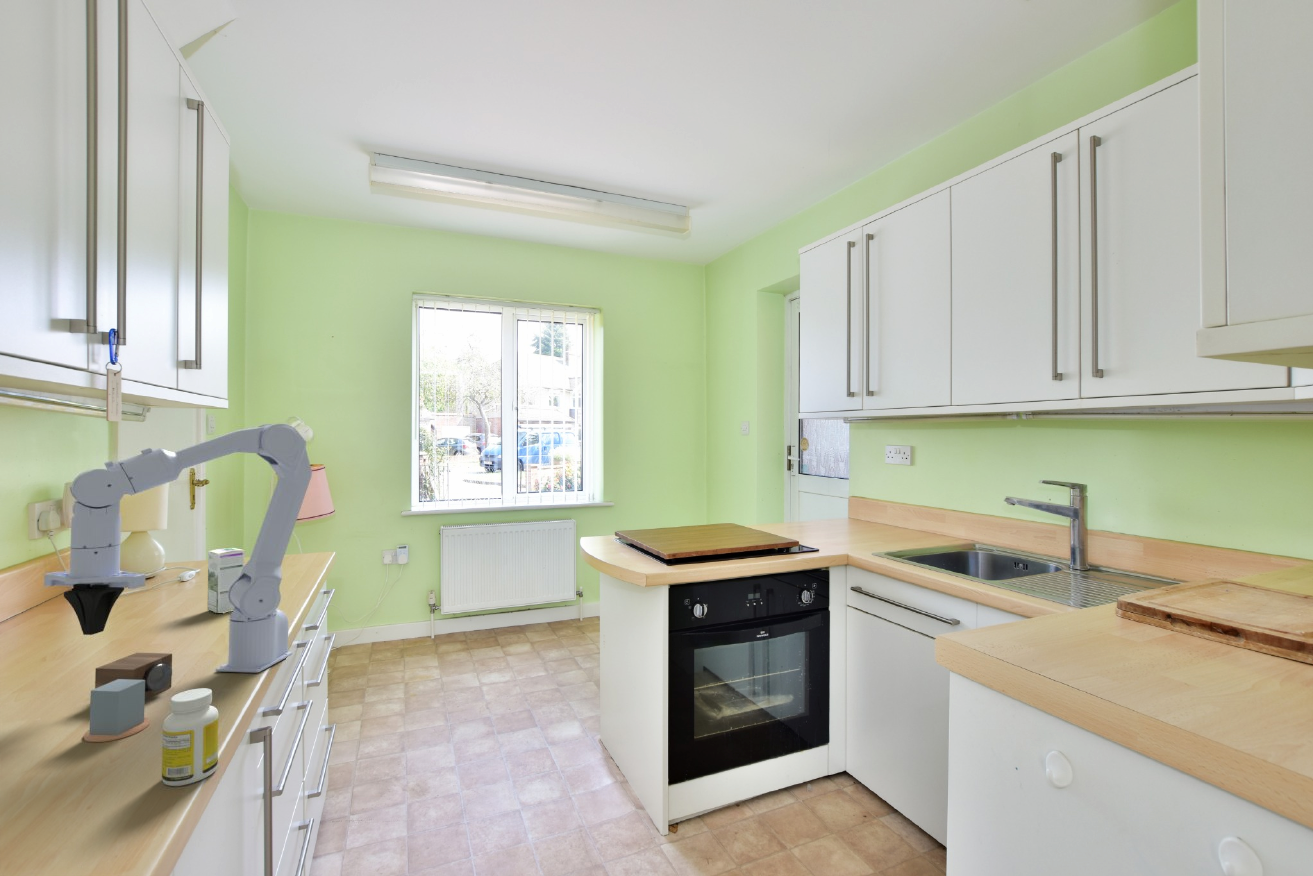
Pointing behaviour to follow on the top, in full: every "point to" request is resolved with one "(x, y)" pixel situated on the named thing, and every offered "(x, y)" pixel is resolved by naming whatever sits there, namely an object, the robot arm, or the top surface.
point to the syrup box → (223, 576)
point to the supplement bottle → (190, 738)
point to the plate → (112, 737)
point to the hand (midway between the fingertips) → (93, 632)
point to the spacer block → (117, 707)
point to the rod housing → (132, 669)
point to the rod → (157, 677)
